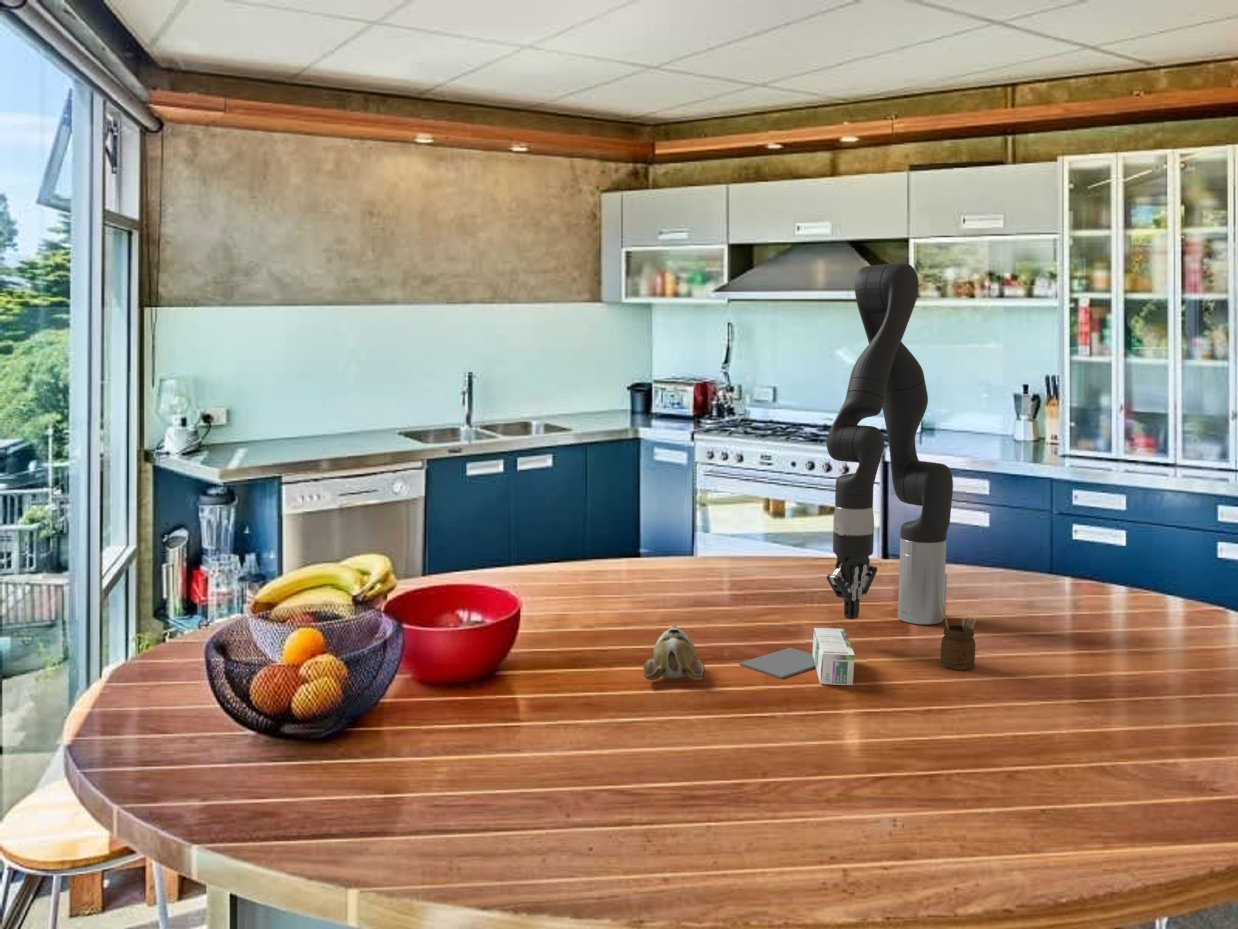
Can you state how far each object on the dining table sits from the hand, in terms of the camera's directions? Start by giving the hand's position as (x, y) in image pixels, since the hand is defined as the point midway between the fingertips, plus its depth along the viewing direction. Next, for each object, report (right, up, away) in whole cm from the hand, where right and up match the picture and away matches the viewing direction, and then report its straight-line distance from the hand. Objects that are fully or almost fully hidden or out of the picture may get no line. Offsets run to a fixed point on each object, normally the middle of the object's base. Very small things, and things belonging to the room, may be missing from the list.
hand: (851, 618), depth 206 cm
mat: (-14, -7, -10) cm, 18 cm away
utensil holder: (+17, -7, -11) cm, 21 cm away
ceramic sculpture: (-35, -8, -16) cm, 39 cm away
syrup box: (-6, -3, -8) cm, 10 cm away
